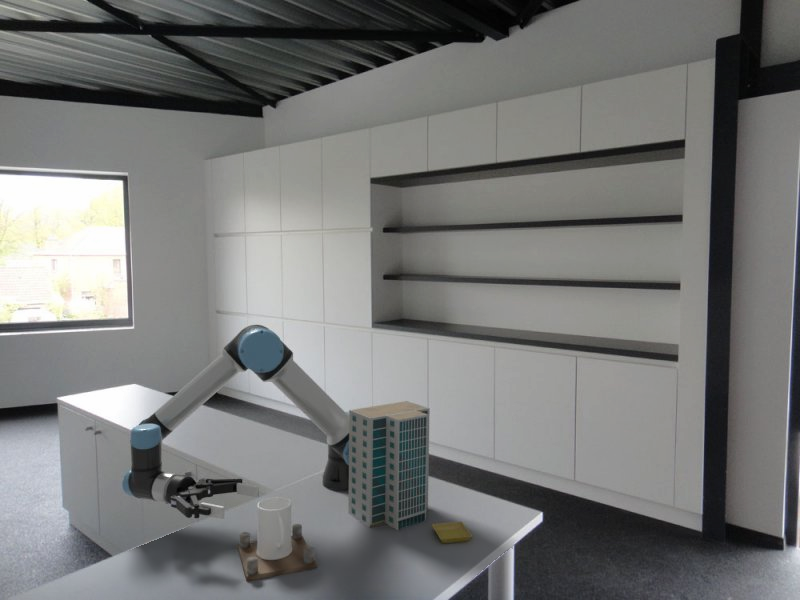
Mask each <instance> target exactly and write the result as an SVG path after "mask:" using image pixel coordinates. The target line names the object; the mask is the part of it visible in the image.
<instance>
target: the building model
mask: <svg viewBox="0 0 800 600" xmlns="http://www.w3.org/2000/svg"><path fill="white" fill-rule="evenodd" d="M348 412H349V491H348V514H349V515H350V516H352V517H353V518H355V519H356V520H358V521H359V522H360V523H362V524H364V525H365V526H366V527H368V528H373V527H376V526H380V525H382V524H386V525H388V526H389V527H391V528H393V529H394V530H396V531H398V530H401V529H405V528H408V527H411V526H413V525H417V524H420V523H423V522H427V510H429V470H430V469H429V467H430V466H429V465H430V463H429V462H430V461H429V457H430V456H429V455H430V407H427V406H424V405H421V404H417V403H415V402H413V401H409V400H403V401H397V402H392V403H391V402H390V403H386V404H378V405H372V406H367V407H360V408H355V409H354V408H353V409H349V411H348Z"/></svg>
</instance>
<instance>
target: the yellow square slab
mask: <svg viewBox="0 0 800 600" xmlns="http://www.w3.org/2000/svg"><path fill="white" fill-rule="evenodd" d="M431 526H432V528H433V530H434V531H435V533H436V535H437V536H438V537H439V540H440V541H441V543H442V544H448V543H449V544H450V543H459V542H468V541H469V540H470V539H471V538H473V534H471V532H470V531H469V529H468V528H467V527H466V525H465V524H464V522H463V521H454V522H442V523H440V522H439V523H433V524H431Z"/></svg>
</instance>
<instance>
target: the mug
mask: <svg viewBox="0 0 800 600" xmlns="http://www.w3.org/2000/svg"><path fill="white" fill-rule="evenodd" d="M256 505H257V511H256V512H257V523H256V524H257V529H256V530H257V552H256V553H257V556H258V557H260V558H261V559H265V560H278V559H282V558H285V557H287V556H288V555H290V554H291V552H292V544H291V536H292V500H291V499H289V498H287V497H282V496H272V497H267V498H264V499H262V500H260V501H259V502H257V504H256Z"/></svg>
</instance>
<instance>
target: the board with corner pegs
mask: <svg viewBox="0 0 800 600" xmlns="http://www.w3.org/2000/svg"><path fill="white" fill-rule="evenodd" d="M291 544H292V552H291V554H290V555H288V556H287V557H285V558H282V559H278V560H265V559H261V558H260V557H258V556H257V553H256V552H257V541H252V542H251V533H250V532H247V531H244V532H241V533H240V534H239V544H237V549H238V553H239V558H240V561H241V562H240V563H241V565H242V569H243V573H244V576H245V581H246V582H249V581H255V580H260V579H263V578H270V577H274V576H275V577H276V576H280V575H287V574H291V573H296V572H300V571H306V570H307V571H308V570H311V569H312V570H313V569H317V567H318V566H317V565H318V564H317V561H316V559H315V548H314V547H313V546H308V544H307V541H306V540H305V538H304V535H303V524H301V523H296V524H293V525H291Z"/></svg>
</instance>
